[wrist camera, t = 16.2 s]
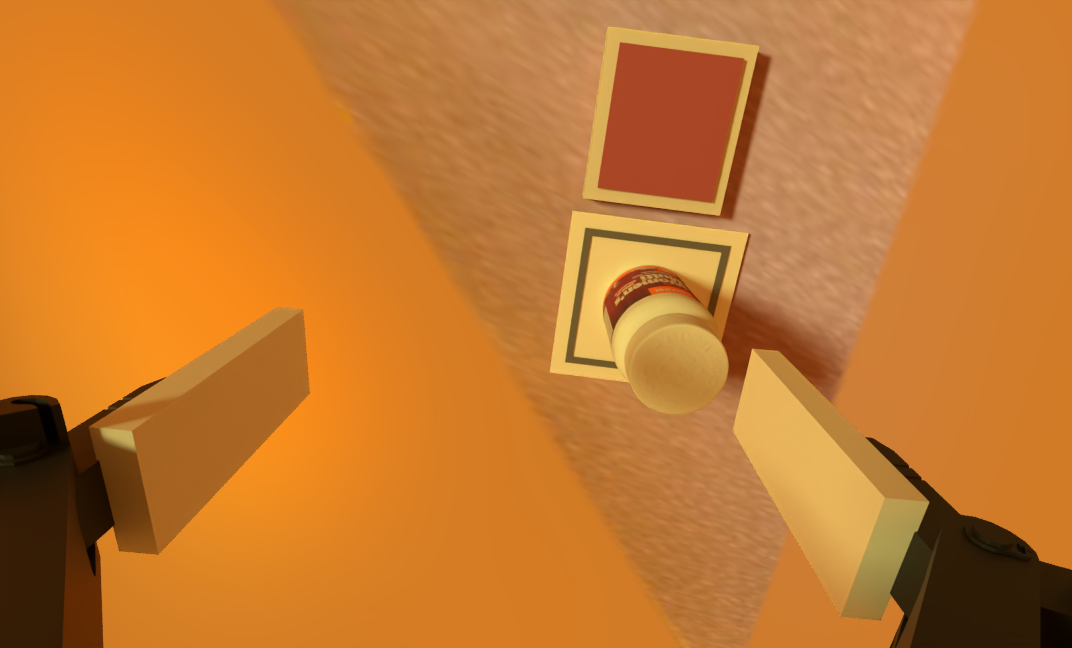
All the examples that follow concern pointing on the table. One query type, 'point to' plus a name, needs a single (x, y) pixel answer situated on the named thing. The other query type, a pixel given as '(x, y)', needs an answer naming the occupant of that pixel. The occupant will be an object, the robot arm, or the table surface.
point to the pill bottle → (664, 340)
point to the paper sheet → (621, 245)
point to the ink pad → (667, 120)
